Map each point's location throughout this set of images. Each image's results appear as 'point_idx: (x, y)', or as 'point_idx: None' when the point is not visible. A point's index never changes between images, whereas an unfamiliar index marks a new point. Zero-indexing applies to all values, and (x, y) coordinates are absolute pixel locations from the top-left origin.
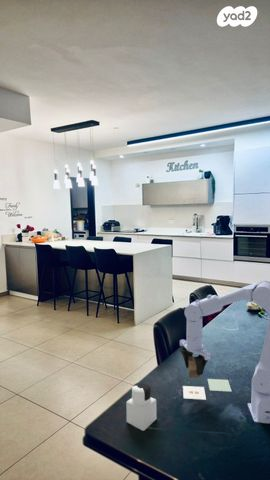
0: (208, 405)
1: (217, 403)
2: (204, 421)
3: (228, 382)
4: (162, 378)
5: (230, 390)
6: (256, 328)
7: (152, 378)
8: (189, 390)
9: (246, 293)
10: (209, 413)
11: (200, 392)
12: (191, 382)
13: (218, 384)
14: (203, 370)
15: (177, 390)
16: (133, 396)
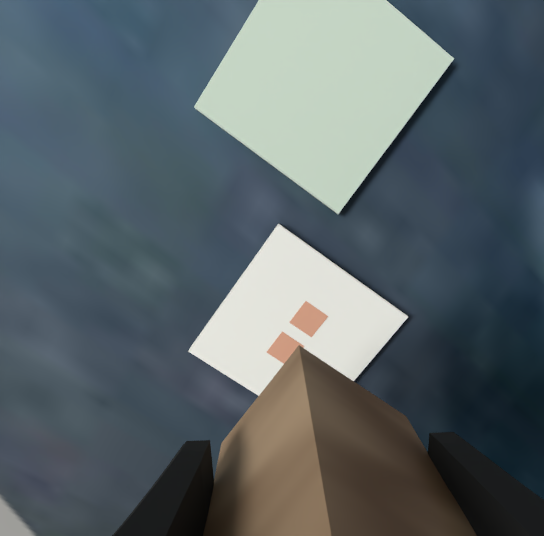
0: (450, 334)
1: (472, 268)
2: (536, 445)
3: None
4: (30, 403)
5: (437, 57)
6: None
7: (4, 458)
8: (260, 346)
9: None
10: (508, 380)
11: (320, 294)
12: (168, 256)
13: (313, 83)
14: (498, 468)
15: (209, 400)
16: None
